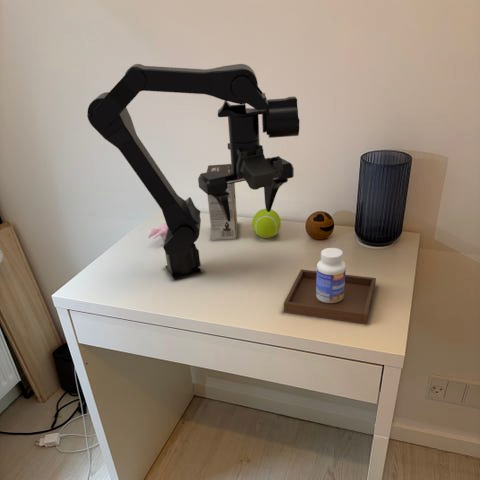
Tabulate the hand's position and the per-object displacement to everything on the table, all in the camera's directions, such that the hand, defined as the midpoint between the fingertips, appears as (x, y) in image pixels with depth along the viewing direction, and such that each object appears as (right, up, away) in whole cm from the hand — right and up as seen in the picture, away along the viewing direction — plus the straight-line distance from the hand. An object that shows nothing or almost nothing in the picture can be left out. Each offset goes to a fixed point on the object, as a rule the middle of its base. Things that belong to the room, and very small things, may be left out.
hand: (248, 216), depth 101 cm
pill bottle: (+16, -17, -6) cm, 24 cm away
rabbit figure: (-20, -1, +23) cm, 30 cm away
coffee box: (-6, +1, +23) cm, 24 cm away
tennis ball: (+5, -1, +19) cm, 20 cm away
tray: (+16, -18, -6) cm, 25 cm away
